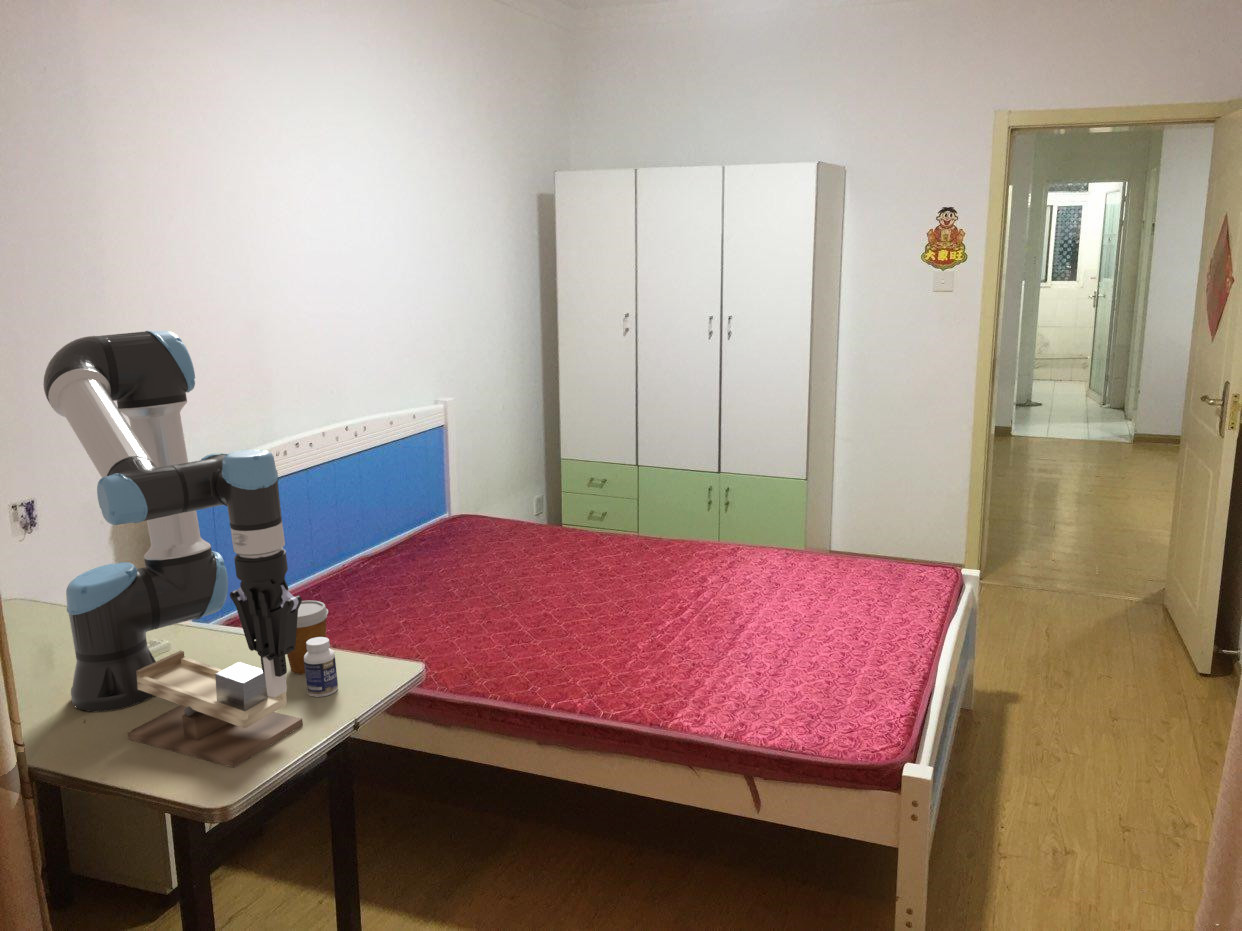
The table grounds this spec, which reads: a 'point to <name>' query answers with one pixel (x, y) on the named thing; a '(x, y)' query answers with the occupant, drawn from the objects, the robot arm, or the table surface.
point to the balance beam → (198, 690)
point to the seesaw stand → (213, 735)
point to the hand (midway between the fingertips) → (277, 693)
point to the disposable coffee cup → (307, 631)
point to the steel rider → (241, 686)
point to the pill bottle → (320, 668)
